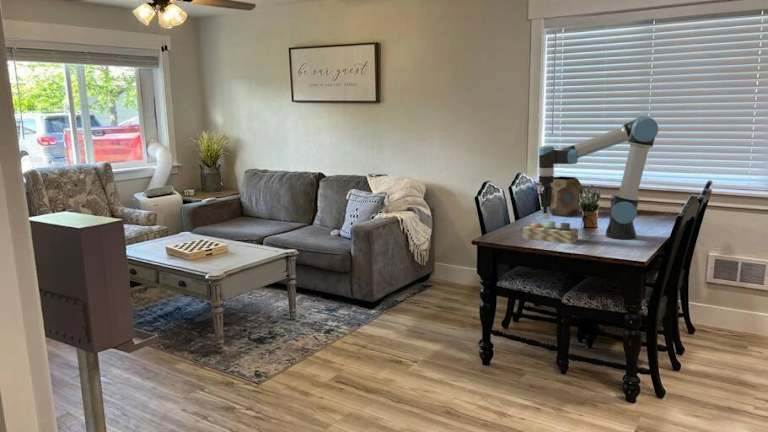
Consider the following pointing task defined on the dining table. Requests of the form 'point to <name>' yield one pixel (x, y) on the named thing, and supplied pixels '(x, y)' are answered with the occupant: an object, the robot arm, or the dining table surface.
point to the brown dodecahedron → (565, 196)
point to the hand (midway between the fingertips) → (545, 218)
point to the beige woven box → (550, 234)
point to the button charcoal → (565, 226)
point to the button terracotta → (536, 225)
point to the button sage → (550, 225)
